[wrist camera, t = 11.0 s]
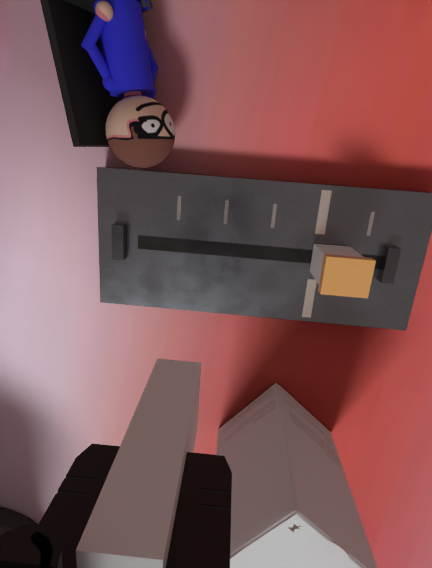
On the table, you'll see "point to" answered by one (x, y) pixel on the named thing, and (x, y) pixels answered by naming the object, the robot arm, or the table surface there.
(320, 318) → the panel
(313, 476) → the supplement box
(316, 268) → the block
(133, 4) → the character figurine
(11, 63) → the table surface
